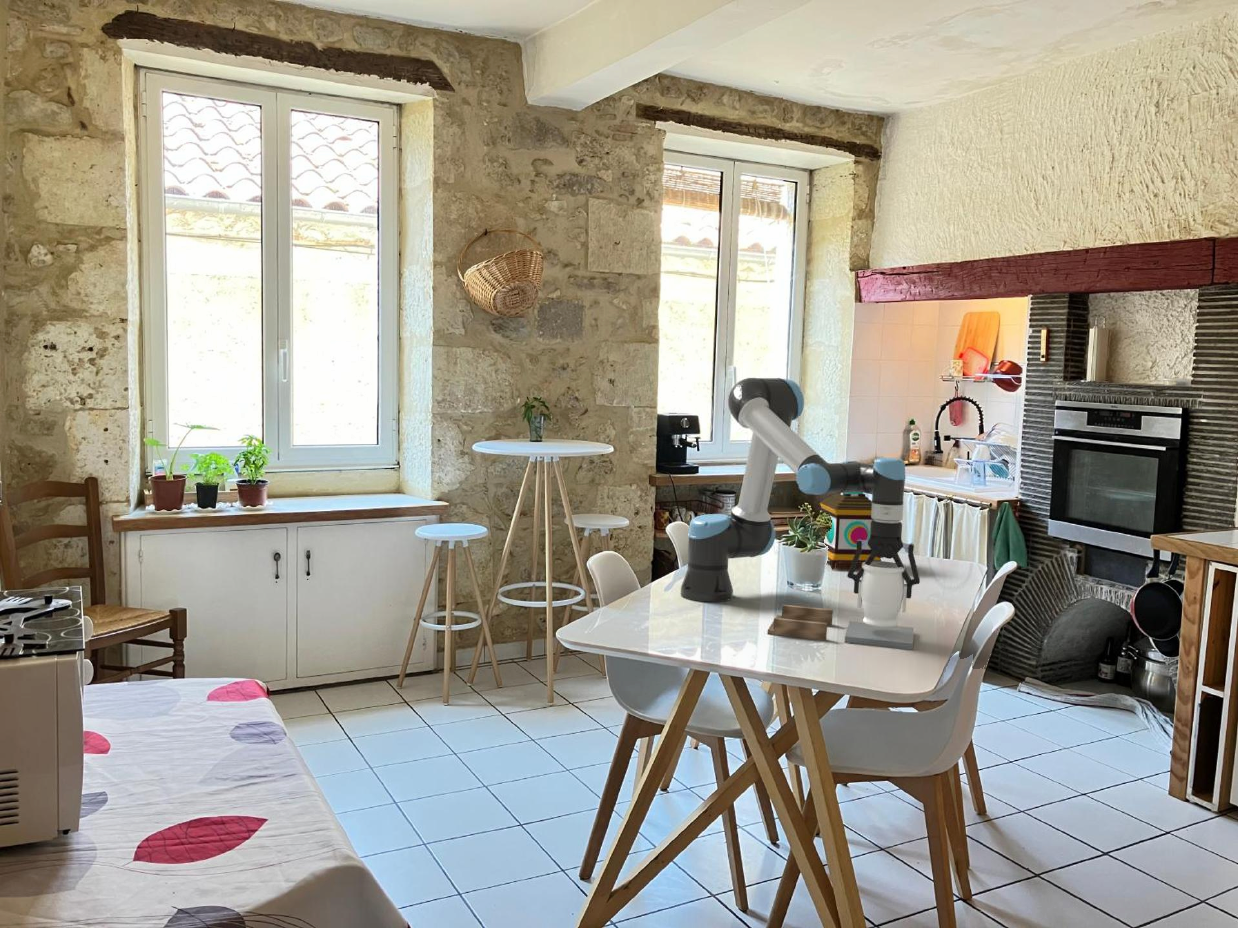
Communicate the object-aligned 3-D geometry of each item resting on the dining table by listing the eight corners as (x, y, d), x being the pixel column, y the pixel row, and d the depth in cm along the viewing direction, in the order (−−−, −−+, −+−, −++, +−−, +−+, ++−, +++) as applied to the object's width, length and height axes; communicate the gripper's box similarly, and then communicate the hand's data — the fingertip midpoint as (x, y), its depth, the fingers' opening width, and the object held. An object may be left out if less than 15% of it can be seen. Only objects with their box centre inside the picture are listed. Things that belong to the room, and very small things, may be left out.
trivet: (844, 642, 242) (844, 636, 242) (849, 626, 257) (849, 620, 257) (912, 649, 237) (912, 643, 237) (913, 633, 252) (913, 627, 252)
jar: (878, 630, 240) (881, 570, 238) (849, 620, 249) (853, 561, 247) (911, 626, 244) (914, 567, 243) (881, 616, 254) (885, 559, 252)
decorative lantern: (811, 559, 348) (815, 474, 345) (865, 559, 350) (870, 475, 347) (829, 571, 328) (834, 481, 325) (886, 571, 330) (891, 482, 327)
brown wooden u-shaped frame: (767, 633, 247) (768, 618, 247) (777, 618, 263) (777, 603, 262) (825, 640, 243) (826, 624, 242) (832, 624, 258) (832, 609, 258)
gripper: (838, 519, 244) (833, 607, 246) (934, 526, 237) (928, 616, 239) (841, 515, 251) (836, 600, 253) (934, 521, 244) (929, 609, 246)
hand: (881, 608), depth 246 cm, fingers closed on jar, 10 cm apart
